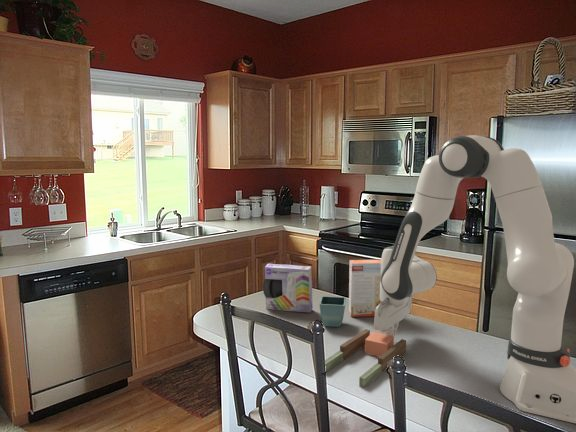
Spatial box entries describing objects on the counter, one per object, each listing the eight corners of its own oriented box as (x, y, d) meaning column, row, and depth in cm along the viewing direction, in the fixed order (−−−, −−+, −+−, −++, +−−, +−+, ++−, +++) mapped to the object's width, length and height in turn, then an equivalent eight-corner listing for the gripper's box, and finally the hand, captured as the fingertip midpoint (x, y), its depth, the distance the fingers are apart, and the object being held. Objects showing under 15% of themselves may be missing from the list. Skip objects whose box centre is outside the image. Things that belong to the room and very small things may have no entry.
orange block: (393, 349, 141) (394, 336, 140) (386, 358, 135) (387, 344, 134) (372, 345, 144) (372, 331, 143) (364, 353, 138) (365, 339, 137)
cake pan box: (262, 309, 176) (262, 265, 173) (266, 304, 181) (266, 262, 178) (309, 314, 170) (310, 269, 168) (312, 309, 175) (313, 266, 172)
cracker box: (383, 311, 174) (385, 258, 171) (387, 317, 168) (389, 262, 165) (347, 311, 173) (349, 258, 170) (350, 317, 167) (352, 262, 164)
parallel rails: (405, 352, 138) (406, 340, 138) (364, 387, 118) (364, 373, 117) (365, 340, 147) (365, 329, 146) (320, 371, 126) (320, 358, 126)
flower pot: (318, 328, 157) (319, 303, 156) (321, 319, 165) (321, 295, 164) (344, 330, 155) (344, 305, 154) (345, 320, 164) (345, 297, 163)
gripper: (388, 305, 134) (386, 349, 136) (415, 289, 150) (413, 328, 152) (369, 300, 138) (368, 343, 140) (397, 285, 154) (396, 323, 156)
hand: (392, 335), depth 146 cm, fingers closed
